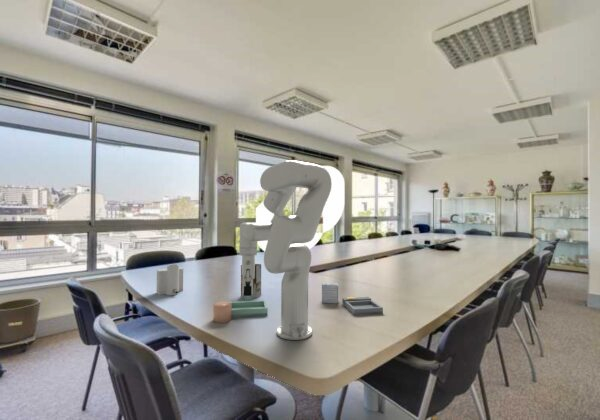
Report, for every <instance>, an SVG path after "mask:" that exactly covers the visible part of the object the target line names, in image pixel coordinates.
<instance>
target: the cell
mask: <svg viewBox="0 0 600 420" xmlns="http://www.w3.org/2000/svg"><path fill="white" fill-rule="evenodd" d="M244 279H246V278H244ZM244 279H243V282H242V297H241V299H243V300H251V299H253V279H252V278H251V286H252V290H251V296H244V282H245V280H244ZM249 279H250V278H249ZM249 281H250V280H249Z"/></svg>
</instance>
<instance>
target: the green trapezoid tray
mask: <svg viewBox="0 0 600 420" xmlns="http://www.w3.org/2000/svg"><path fill="white" fill-rule="evenodd" d="M230 302H231V303H232V313H231V319H232V318H245V317H246V318H247V317H248V318H249V317H263V316H265V317H266V316H268V315H269V314H268V304H267V300H265V299H263V300H249V301H248V300H247V301H246V300H245V301H230Z"/></svg>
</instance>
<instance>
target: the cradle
mask: <svg viewBox="0 0 600 420" xmlns="http://www.w3.org/2000/svg"><path fill="white" fill-rule="evenodd" d="M341 300H342V306H343V307H344V308H345V309H346V310H348V311H349V313H351V314H352V315H353V316H364V315H365V316H366V315H367V316H368V315H379V314H382V315H383V314H384V307H383V306H382V305H379V304H378V303H377V302H376V301H374V300H372V298H371V297H369V296H363V297H361V296H359V297H358V296H357V297H356V296H355V297H354V296H352V297H349V296H348V297H343V298H342V299H341Z"/></svg>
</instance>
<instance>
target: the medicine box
mask: <svg viewBox="0 0 600 420" xmlns="http://www.w3.org/2000/svg"><path fill="white" fill-rule="evenodd" d="M321 303H322V304H339V283H337V282H336V283H335V282H322V284H321Z"/></svg>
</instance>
